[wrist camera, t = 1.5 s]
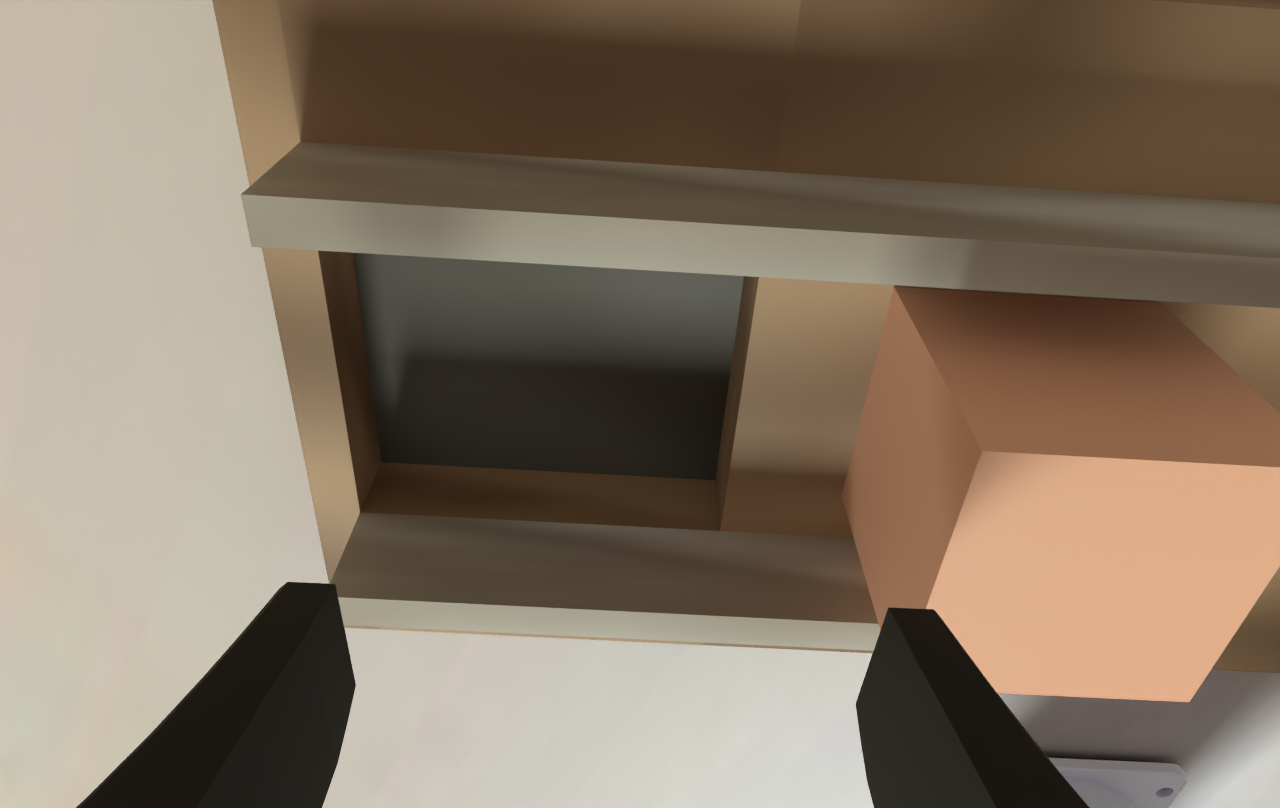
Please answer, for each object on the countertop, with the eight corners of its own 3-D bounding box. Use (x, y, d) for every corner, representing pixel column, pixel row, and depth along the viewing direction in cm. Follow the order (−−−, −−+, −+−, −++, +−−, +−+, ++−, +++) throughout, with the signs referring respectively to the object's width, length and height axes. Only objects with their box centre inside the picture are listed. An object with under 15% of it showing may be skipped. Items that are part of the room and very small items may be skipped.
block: (1068, 507, 19) (1189, 702, 14) (841, 495, 18) (897, 688, 14) (1161, 302, 16) (1342, 471, 12) (894, 287, 16) (981, 451, 12)
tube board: (1460, 623, 23) (1614, 774, 20) (360, 568, 23) (303, 714, 19) (1968, 42, 15) (2404, 112, 11) (251, -78, 14) (110, -46, 10)
